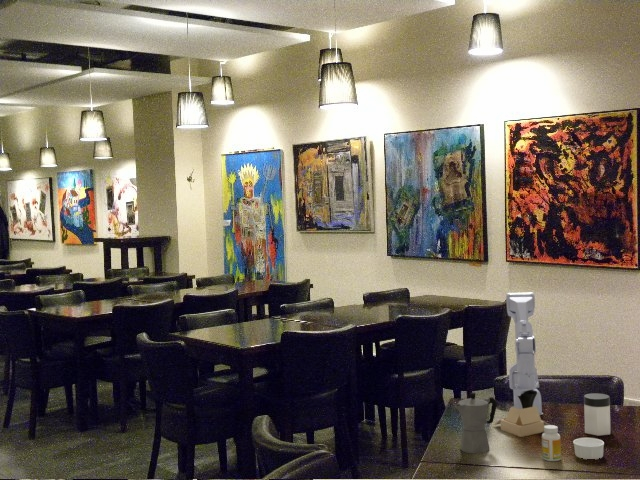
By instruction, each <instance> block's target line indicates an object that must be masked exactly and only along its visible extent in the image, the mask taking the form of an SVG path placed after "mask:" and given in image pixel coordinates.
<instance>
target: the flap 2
mask: <svg viewBox="0 0 640 480" xmlns="http://www.w3.org/2000/svg"><path fill="white" fill-rule="evenodd" d="M518 410H519V409H517V408H514V406H511V407H510V409H509V411H508V413H507V416H506V417H505V418H506V419H505V420H506V421H509V422H512V423H515V424H516V423H517V420H518V418H519V413H518Z"/></svg>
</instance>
